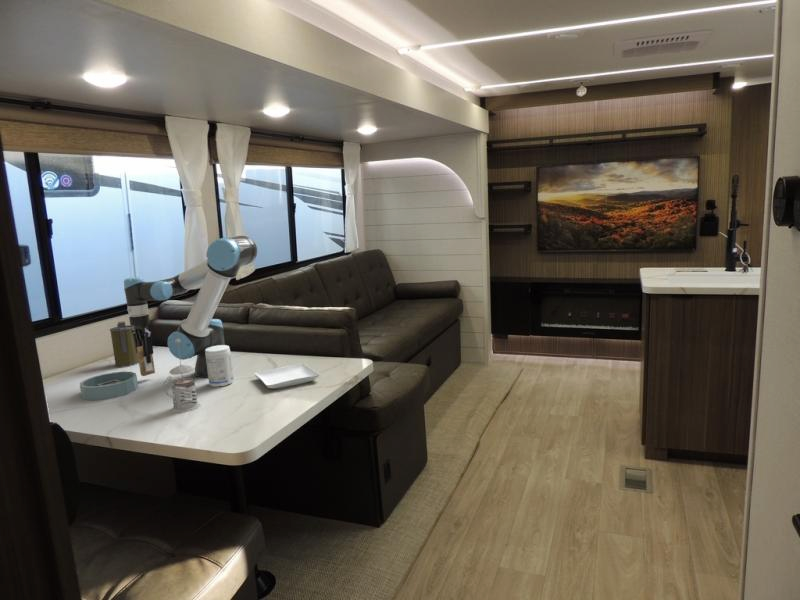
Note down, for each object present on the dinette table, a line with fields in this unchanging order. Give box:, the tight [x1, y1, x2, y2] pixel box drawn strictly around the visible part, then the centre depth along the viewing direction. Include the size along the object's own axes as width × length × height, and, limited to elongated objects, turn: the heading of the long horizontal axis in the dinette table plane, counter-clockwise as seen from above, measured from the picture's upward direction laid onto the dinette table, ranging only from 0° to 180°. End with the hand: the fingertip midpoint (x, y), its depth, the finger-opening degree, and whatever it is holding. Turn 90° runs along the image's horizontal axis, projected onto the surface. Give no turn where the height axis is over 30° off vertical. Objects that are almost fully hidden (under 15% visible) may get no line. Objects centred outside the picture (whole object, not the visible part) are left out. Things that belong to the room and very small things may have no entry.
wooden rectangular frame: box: [136, 346, 156, 377], centre depth 242 cm, size 2×5×12 cm, turn 140°
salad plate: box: [254, 363, 320, 390], centre depth 230 cm, size 21×21×3 cm
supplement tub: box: [205, 344, 235, 388], centre depth 230 cm, size 10×10×15 cm
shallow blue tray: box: [79, 371, 139, 401], centre depth 230 cm, size 20×20×5 cm
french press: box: [162, 339, 202, 413], centre depth 203 cm, size 10×12×25 cm
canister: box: [109, 321, 139, 368], centre depth 270 cm, size 11×10×20 cm
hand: (147, 370), depth 242 cm, fingers closed on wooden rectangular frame, 2 cm apart
